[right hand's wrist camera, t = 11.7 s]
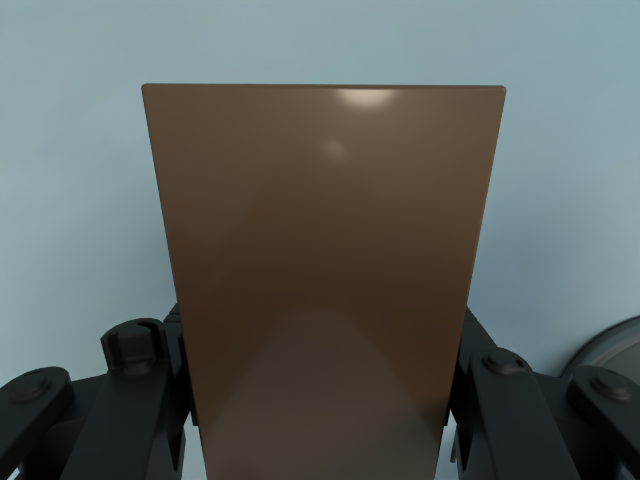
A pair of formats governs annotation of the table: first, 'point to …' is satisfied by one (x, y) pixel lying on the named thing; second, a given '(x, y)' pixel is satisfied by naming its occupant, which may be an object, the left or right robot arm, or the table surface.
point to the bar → (322, 266)
